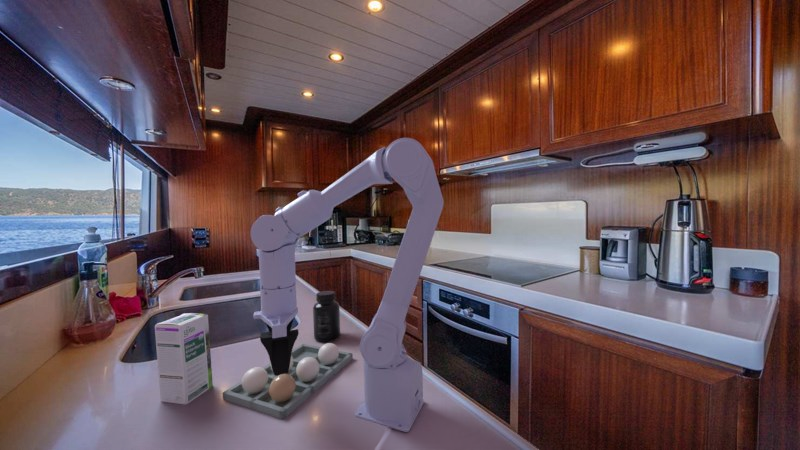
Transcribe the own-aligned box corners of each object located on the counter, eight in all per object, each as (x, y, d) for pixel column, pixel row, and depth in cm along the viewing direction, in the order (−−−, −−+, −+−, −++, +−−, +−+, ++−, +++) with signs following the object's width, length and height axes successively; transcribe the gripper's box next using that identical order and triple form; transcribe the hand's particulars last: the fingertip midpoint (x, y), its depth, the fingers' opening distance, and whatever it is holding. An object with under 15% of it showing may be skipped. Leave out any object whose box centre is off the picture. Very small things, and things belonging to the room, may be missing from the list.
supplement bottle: (345, 335, 80) (344, 291, 79) (327, 345, 74) (325, 298, 74) (327, 330, 84) (326, 288, 83) (308, 339, 78) (306, 294, 77)
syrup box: (186, 407, 51) (181, 324, 51) (158, 403, 53) (153, 322, 52) (213, 387, 57) (209, 313, 56) (187, 384, 58) (183, 311, 57)
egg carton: (352, 360, 66) (352, 339, 66) (283, 421, 47) (282, 392, 47) (303, 350, 72) (302, 330, 71) (223, 401, 53) (221, 375, 52)
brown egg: (301, 395, 53) (300, 371, 53) (283, 411, 49) (282, 385, 49) (282, 390, 55) (281, 367, 55) (263, 404, 51) (262, 379, 51)
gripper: (255, 278, 56) (258, 348, 57) (248, 299, 43) (252, 390, 44) (295, 275, 59) (297, 342, 60) (299, 293, 46) (302, 379, 46)
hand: (281, 362), depth 52 cm, fingers open, 7 cm apart
